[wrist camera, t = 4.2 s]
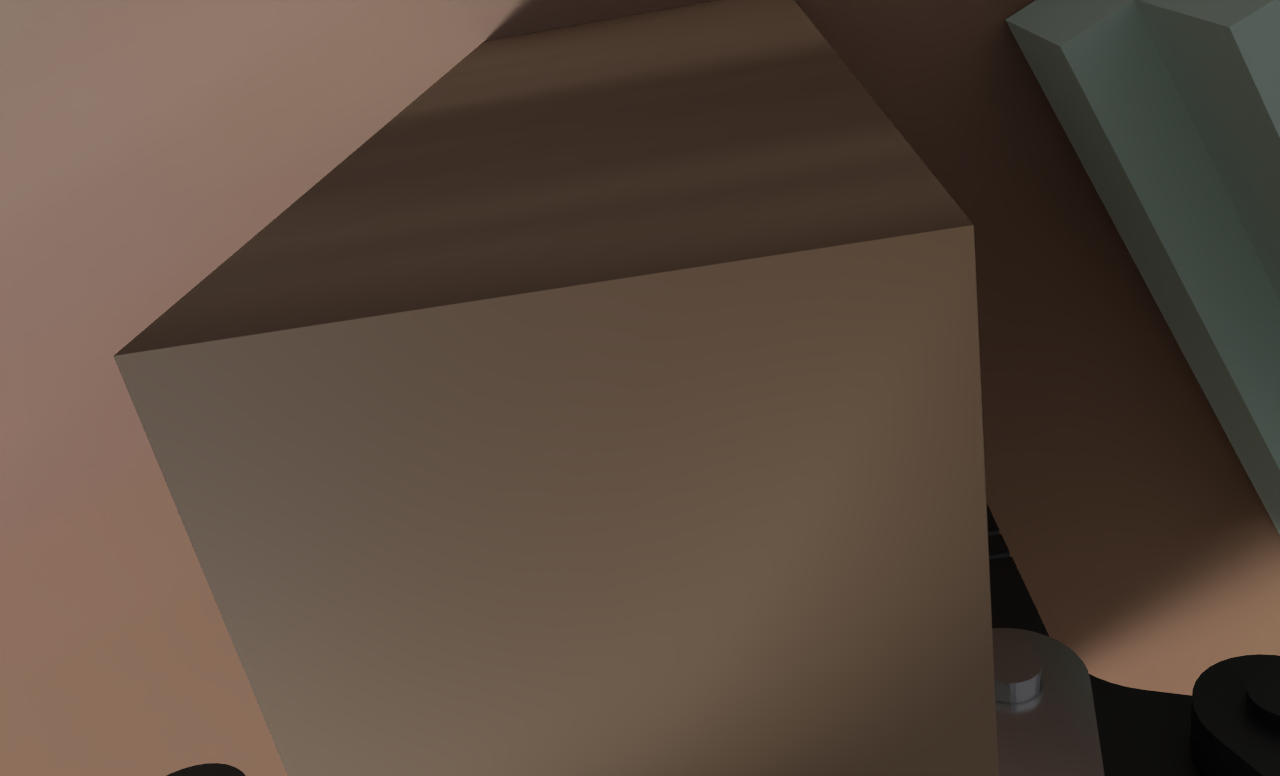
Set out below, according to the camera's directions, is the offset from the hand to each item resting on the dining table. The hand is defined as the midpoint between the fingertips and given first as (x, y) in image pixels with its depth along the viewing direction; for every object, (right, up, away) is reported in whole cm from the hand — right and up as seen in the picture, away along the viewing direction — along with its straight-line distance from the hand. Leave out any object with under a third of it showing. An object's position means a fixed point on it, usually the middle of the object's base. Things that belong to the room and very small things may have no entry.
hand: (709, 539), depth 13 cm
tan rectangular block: (0, +1, +2) cm, 2 cm away
